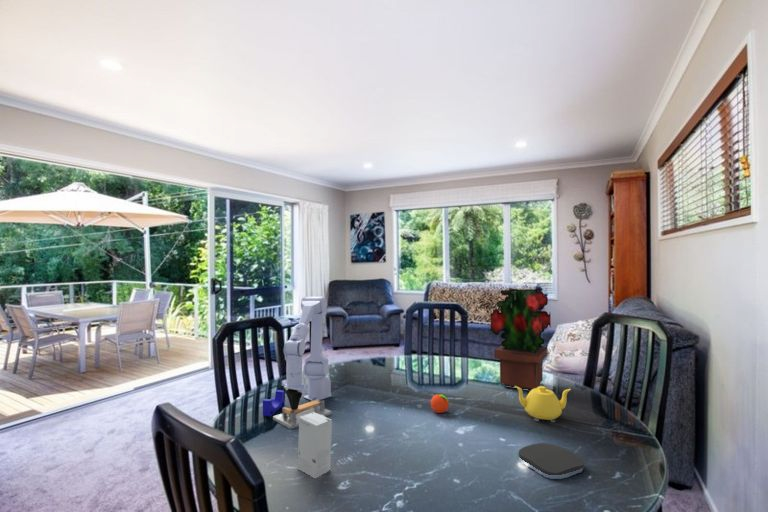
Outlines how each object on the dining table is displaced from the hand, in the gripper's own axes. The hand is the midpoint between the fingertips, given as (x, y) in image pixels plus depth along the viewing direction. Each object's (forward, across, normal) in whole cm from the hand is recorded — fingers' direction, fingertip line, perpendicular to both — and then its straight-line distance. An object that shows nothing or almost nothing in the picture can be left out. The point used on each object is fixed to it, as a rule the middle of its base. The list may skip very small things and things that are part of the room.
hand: (294, 409), depth 144 cm
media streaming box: (+5, +81, +34) cm, 88 cm away
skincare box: (+4, +34, -16) cm, 38 cm away
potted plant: (+4, +45, +94) cm, 105 cm away
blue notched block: (+4, -15, -1) cm, 15 cm away
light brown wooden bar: (+1, 0, +4) cm, 4 cm away
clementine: (+4, +36, +42) cm, 56 cm away
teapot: (+4, +66, +66) cm, 93 cm away
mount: (+4, 0, +4) cm, 5 cm away
